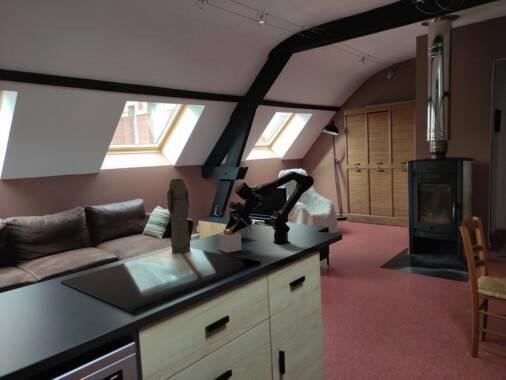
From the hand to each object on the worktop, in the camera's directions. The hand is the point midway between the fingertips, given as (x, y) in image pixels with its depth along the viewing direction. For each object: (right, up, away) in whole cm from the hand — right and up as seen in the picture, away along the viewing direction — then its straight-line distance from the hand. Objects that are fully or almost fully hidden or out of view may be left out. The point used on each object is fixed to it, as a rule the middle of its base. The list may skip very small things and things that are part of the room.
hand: (229, 230), depth 185 cm
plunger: (0, -6, +1) cm, 6 cm away
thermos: (-23, -10, +2) cm, 25 cm away
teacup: (+4, -7, +25) cm, 26 cm away
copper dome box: (0, -9, +1) cm, 9 cm away
